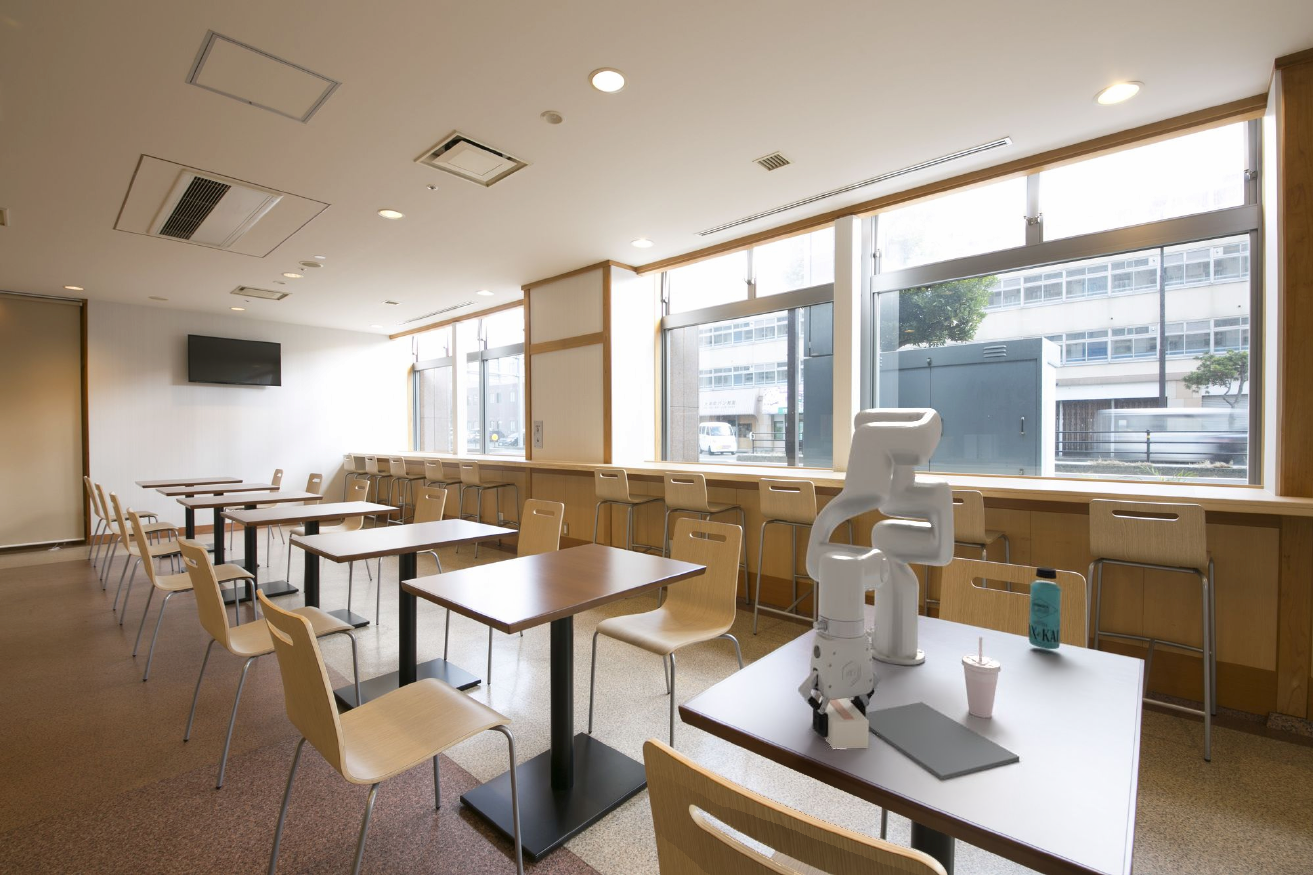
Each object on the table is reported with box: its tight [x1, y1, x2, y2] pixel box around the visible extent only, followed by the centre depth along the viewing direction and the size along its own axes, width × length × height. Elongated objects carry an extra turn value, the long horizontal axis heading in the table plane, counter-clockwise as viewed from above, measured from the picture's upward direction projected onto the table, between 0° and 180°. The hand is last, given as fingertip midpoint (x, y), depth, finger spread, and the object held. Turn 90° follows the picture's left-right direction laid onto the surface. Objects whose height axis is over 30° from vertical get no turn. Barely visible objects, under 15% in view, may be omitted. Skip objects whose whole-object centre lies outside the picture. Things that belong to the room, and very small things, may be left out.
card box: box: [819, 696, 869, 749], centre depth 100 cm, size 9×6×5 cm, turn 6°
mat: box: [866, 701, 1020, 780], centre depth 99 cm, size 20×16×1 cm
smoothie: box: [961, 635, 1002, 719], centre depth 109 cm, size 6×6×14 cm
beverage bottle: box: [1027, 566, 1062, 650], centre depth 142 cm, size 6×7×20 cm
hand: (839, 729), depth 100 cm, fingers closed on card box, 7 cm apart
